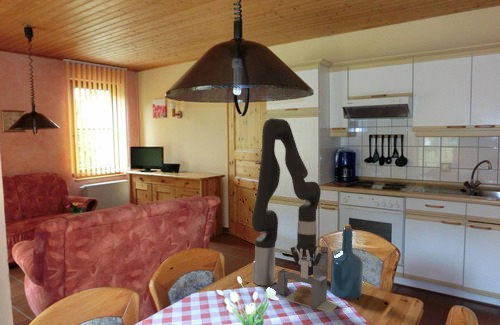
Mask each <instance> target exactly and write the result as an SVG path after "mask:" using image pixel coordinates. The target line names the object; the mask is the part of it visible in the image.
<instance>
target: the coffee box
mask: <svg viewBox="0 0 500 325" xmlns="http://www.w3.org/2000/svg"><path fill="white" fill-rule="evenodd" d="M316 247H317V250H318V251H320V252H323V255H322V257H321V259H320V261H319V263H318V264H317V265H316V266H313V274H312V275H313V276H312V277H313V278H317V279H319V278H320V277H322V276H324V277H327V278H328V275H329V274H328V271H329V268H328V266H329V247H328V246H318V245H316ZM313 256H314V259H313V260H315V258H316V252H315V253H314V255H313Z"/></svg>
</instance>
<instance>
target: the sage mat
mask: <svg viewBox="0 0 500 325" xmlns="http://www.w3.org/2000/svg"><path fill="white" fill-rule="evenodd" d="M283 300H284V301H288V302H290V303H294V304H299V305H302V306H306V307H309V308H312V309H315V310H319V311H321V312H327V313H329V314H331V312H333V311H334V310H335V309H336V308H337V307H339V305H340V303H339V302H336V301H332V300H329V299H326V300H325V301H324V302H323V303H322V304H320V305H319V306H318V307H317V308H315V307H311V306H309V305H306V304H302V303H298V302H295V301H294V291H293V292H291V293H290V294H289V295H286V297H284V298H283Z"/></svg>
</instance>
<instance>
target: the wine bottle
mask: <svg viewBox="0 0 500 325" xmlns="http://www.w3.org/2000/svg"><path fill="white" fill-rule="evenodd" d="M341 236H342V240H341V242H342V244H341V250H340V251H338V252H336V253H334V254H333V255H332V257H331V259H330V293H331V294H332V295H334V297H339V298H341V299H348V300H353V299H355V300H356V299H359V298H360V297H362V296H363V277H364V276H363V272H364V270H363V268H364V263H363V260H362V258H361V257H360V256H359V255H358V254H356V253H355V252H354V251H353V237H354V235H353V228H352V225H351V224H344V226H343V227H342V234H341Z"/></svg>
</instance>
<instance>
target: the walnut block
mask: <svg viewBox="0 0 500 325" xmlns="http://www.w3.org/2000/svg"><path fill="white" fill-rule="evenodd" d="M293 292H294V301H295V302H298V303H302V304H306V305H309V306H312V286H307V285H304V284H303V285H301V286H300V287H298V288H297V289H295V290H294V291H293ZM298 303H297V304H298Z"/></svg>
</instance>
